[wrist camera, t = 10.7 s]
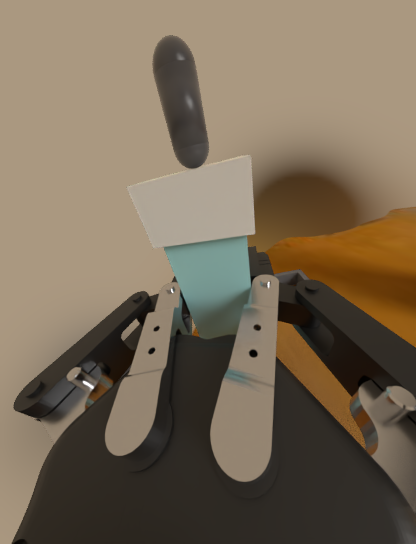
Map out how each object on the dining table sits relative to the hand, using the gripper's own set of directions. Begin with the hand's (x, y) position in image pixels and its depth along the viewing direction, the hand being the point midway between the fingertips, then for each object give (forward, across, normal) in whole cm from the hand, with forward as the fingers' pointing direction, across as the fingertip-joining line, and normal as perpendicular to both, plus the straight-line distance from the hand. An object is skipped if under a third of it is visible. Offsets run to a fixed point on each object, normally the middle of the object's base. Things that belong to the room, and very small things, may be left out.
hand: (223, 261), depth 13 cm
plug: (-3, 0, +10) cm, 10 cm away
